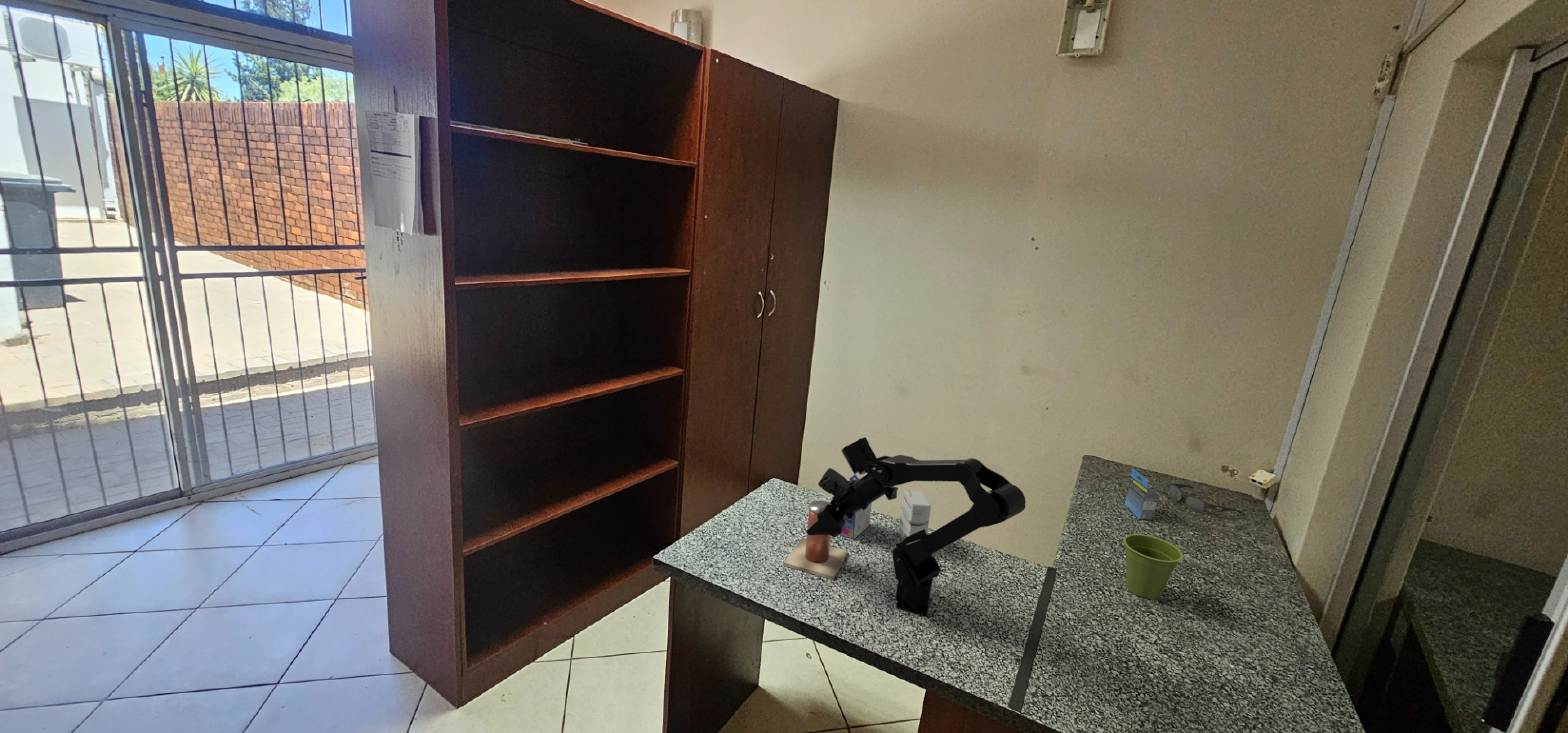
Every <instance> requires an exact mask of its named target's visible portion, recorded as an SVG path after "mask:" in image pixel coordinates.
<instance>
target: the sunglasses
mask: <svg viewBox="0 0 1568 733" xmlns="http://www.w3.org/2000/svg"><path fill="white" fill-rule="evenodd" d="M1182 488H1190V489H1191V490H1192V489H1193V490H1194V491H1195V492H1197V491H1198V492H1197V493H1199V492H1203V491H1202V490H1200V489H1199V488H1197V487H1194V486H1192V485H1189V484H1184V483H1174V482H1172V483H1171V482H1170V483H1168V496H1169V495H1170V496H1169V498H1170V497H1171V498H1172V499H1171V498H1170V499H1171V500H1173V499H1175V500H1176V501H1178V502H1181V501H1184V499H1185V504H1186V507H1187V509H1189V508H1190V509H1192V510H1194V511H1193V512H1194V513H1195V512H1196V513H1197V512H1198V514H1201V513H1203V511H1204V510H1205V509H1213V510H1216V511H1218V512H1229V511H1233V512H1237V513H1238V514H1240V515H1242V514H1241V513H1244V512H1243V511H1241V510H1240V509H1237V508H1232V507H1227V506H1222V505H1216V504H1212V503H1209V502H1207V501H1205V500H1204V499H1202V498H1200V497H1198V496H1196V495H1192V494H1188V493H1187V492H1185V491H1184V490H1182ZM1176 501H1175V502H1176ZM1190 509H1189V510H1190ZM1192 510H1191V511H1192Z"/></svg>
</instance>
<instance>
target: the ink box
mask: <svg viewBox="0 0 1568 733" xmlns="http://www.w3.org/2000/svg"><path fill="white" fill-rule="evenodd" d="M901 501H902V502H901V507H900V515H899V521H898V522H899V523H898V529H897V530H898V534H899V535H900V537H901V539H902V540H904V539H905V538H906V537H908V536H910V535H912V534H914V533H916V532H918V531H920V530H923V529H925V532H926V534H927V535H928V531H929V523H930V515H931V509H932V508H931V507H932V505H931V504H930V502H929V501H928V500H927V498H926V497H925V495H924V494H923V492H922V491H918V490H903V493H902V500H901Z"/></svg>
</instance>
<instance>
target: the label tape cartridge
mask: <svg viewBox="0 0 1568 733" xmlns="http://www.w3.org/2000/svg"><path fill="white" fill-rule="evenodd" d="M1139 478H1140V479H1139ZM1128 484H1129V485H1128V488H1127V492H1126V498H1125V502H1124V506H1125V505H1126V506H1127V507H1126V508H1127V509H1128V508H1129V509H1128V510H1129V511H1130V512H1131V513H1133V514H1134V515H1135V516H1136V517H1137V518H1138V519H1139V520H1146V521H1148V520H1149V521H1152V520H1153V516H1154V512H1155V509H1156V505H1157V501H1158V497H1159V494H1158V493H1157V492H1156V491H1154V490H1153V489H1152V488H1151V487H1150V486H1149V479H1148V478H1147V477H1145V476H1143V475H1142V474H1141V473H1139V472H1138V471H1137V470H1136V469H1134V468H1133V467H1132V470H1131V474H1130V479H1129V483H1128Z"/></svg>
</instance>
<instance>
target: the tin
mask: <svg viewBox="0 0 1568 733" xmlns="http://www.w3.org/2000/svg"><path fill="white" fill-rule="evenodd" d="M829 502H830V501H829ZM829 502H828V501H825V500H814V501H811V502H810V503H809V505H808V518H807V527H806V528H807V530H808V529H809V528H810V527H811V526H812V525H813V524H814V523H815V522H816V521H817V520H818V518H817V514H818V512H819V511H820V510H821V509H822V508H823V507H824V506H826V505H827V504H829V505H832V504H831V503H829ZM807 530H806V531H807ZM831 539H832V536H831V535H808V534H807V533H806V539H805V540H806V550H805V557H806V559H807V560H808V561H810V562H813V563H824V562H826V561H828V559H829V550H830V546H831Z"/></svg>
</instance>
